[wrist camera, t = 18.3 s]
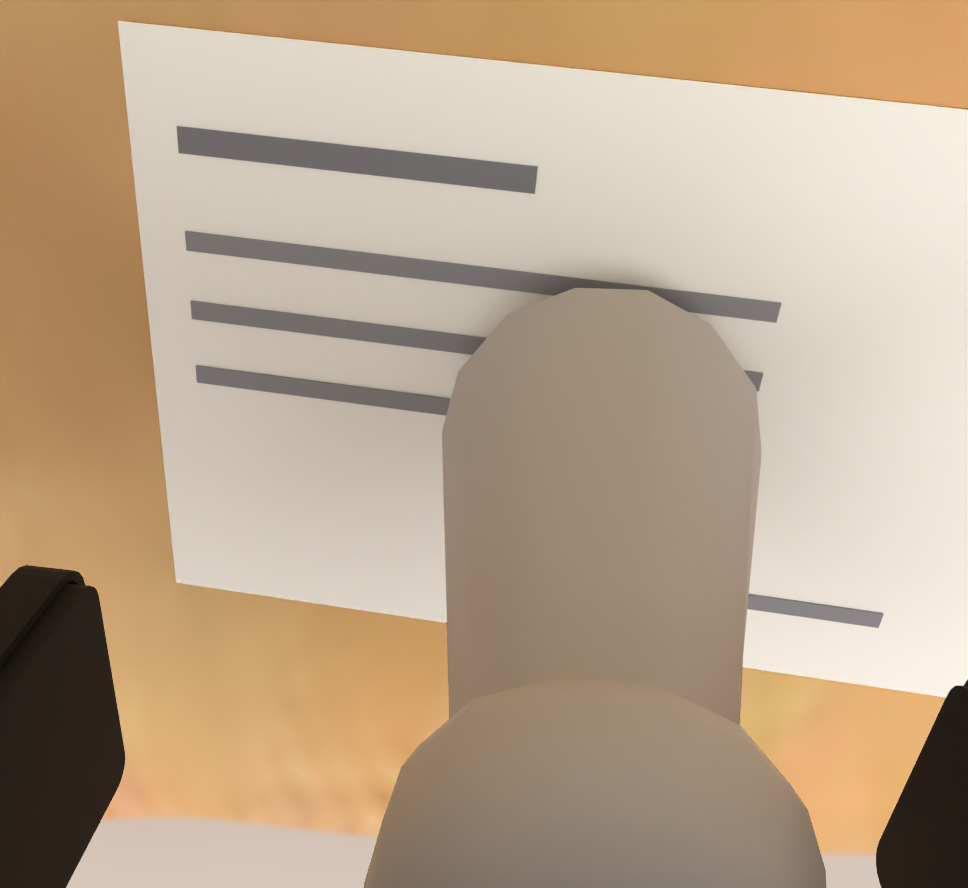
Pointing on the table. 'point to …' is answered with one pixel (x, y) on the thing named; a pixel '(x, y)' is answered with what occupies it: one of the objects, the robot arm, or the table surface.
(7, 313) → the table surface
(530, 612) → the salt shaker
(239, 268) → the letter
